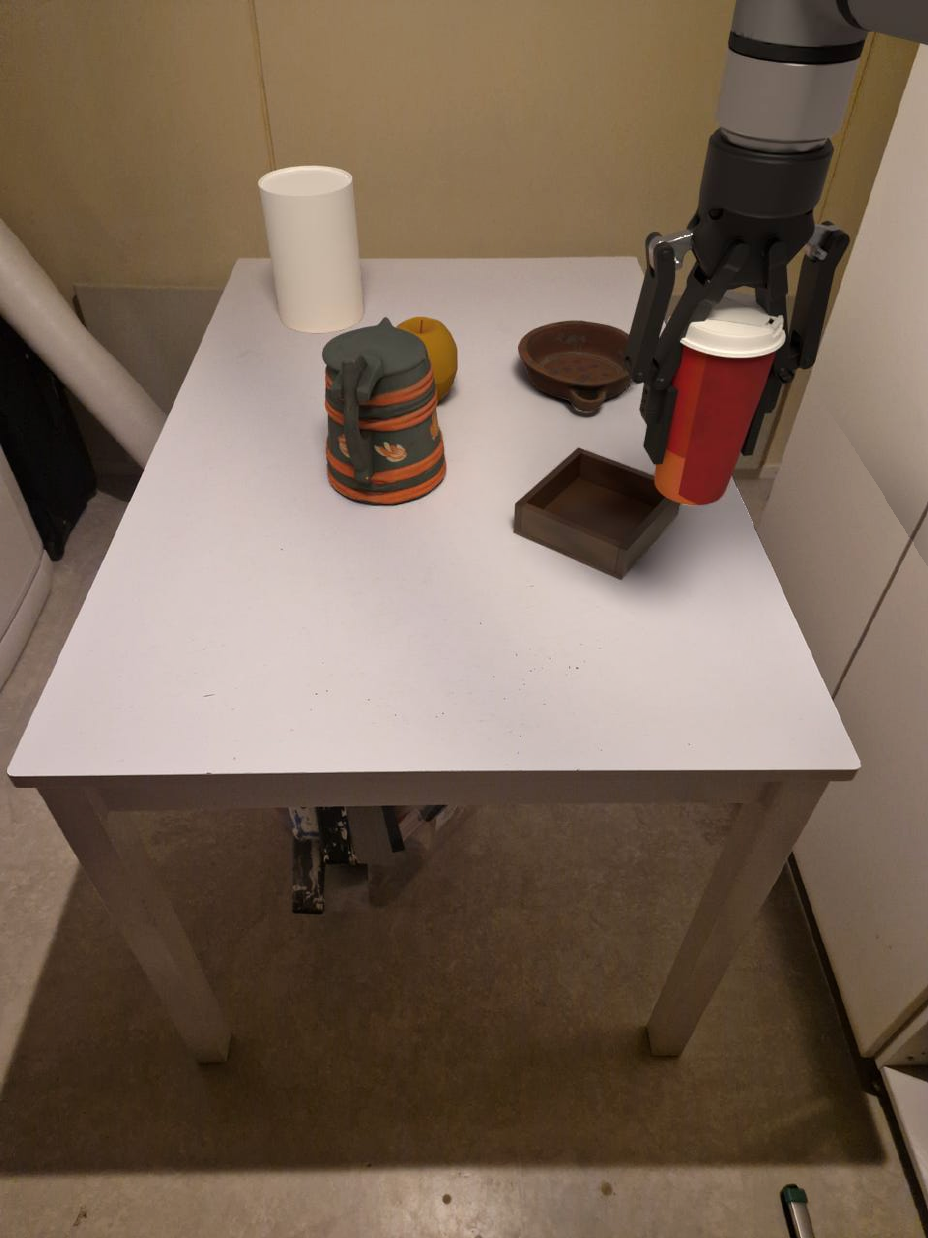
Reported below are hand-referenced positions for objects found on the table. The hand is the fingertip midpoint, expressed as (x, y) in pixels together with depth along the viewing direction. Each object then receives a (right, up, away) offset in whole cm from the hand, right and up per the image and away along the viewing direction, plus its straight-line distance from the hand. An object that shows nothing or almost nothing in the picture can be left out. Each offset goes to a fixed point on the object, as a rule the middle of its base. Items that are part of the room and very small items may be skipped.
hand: (697, 450), depth 67 cm
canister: (-42, +36, +67) cm, 87 cm away
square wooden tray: (-4, -3, +28) cm, 28 cm away
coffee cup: (0, -2, +2) cm, 4 cm away
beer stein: (-29, +3, +34) cm, 44 cm away
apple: (-25, +16, +47) cm, 56 cm away
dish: (-3, +20, +51) cm, 55 cm away
